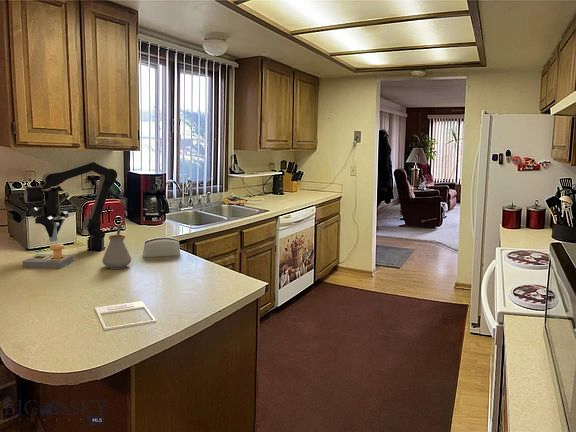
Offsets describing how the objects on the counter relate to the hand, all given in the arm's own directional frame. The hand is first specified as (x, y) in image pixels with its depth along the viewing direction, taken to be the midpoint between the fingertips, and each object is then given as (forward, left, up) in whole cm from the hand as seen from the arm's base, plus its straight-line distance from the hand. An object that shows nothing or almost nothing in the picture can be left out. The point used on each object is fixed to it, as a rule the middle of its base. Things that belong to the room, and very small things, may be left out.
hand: (53, 236), depth 208 cm
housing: (-5, +15, -8) cm, 18 cm away
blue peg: (0, 0, -2) cm, 2 cm away
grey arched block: (-47, -6, -9) cm, 48 cm away
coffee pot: (-32, +10, -9) cm, 35 cm away
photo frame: (-54, +67, -9) cm, 87 cm away
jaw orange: (-9, +15, -8) cm, 19 cm away
